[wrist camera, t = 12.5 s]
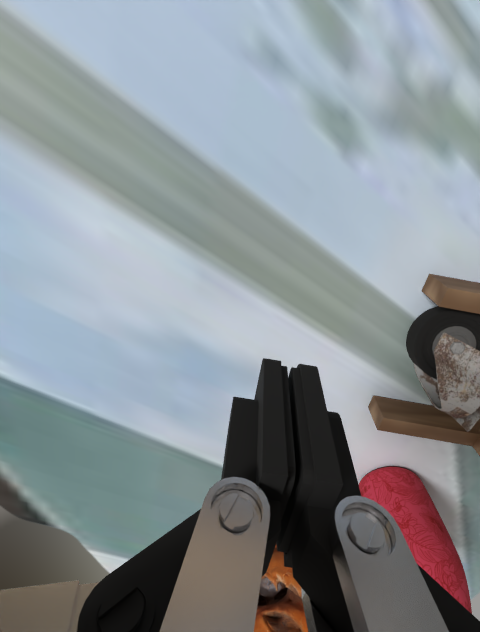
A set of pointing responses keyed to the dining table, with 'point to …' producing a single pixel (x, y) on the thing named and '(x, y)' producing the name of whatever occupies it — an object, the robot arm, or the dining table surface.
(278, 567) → the pumpkin
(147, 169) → the dining table surface
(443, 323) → the caster wheel
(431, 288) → the brown wooden frame
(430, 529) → the wine bottle
